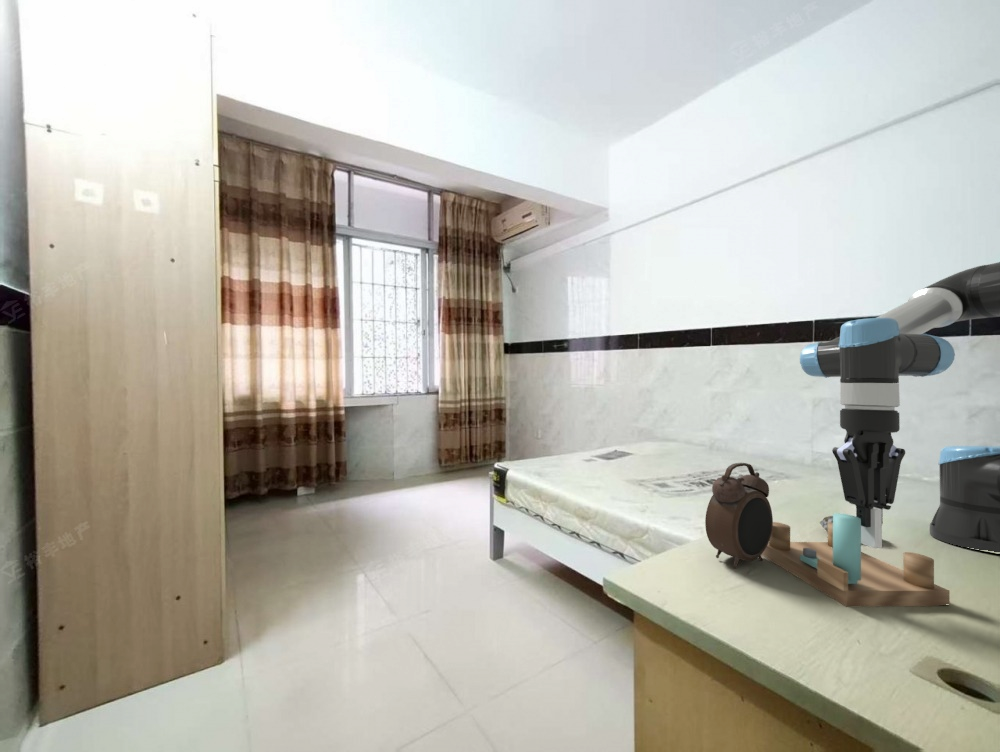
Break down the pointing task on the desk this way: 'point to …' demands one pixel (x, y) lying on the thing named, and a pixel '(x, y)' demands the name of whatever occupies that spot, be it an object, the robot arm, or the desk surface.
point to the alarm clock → (739, 515)
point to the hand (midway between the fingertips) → (869, 544)
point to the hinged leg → (842, 547)
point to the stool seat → (877, 577)
